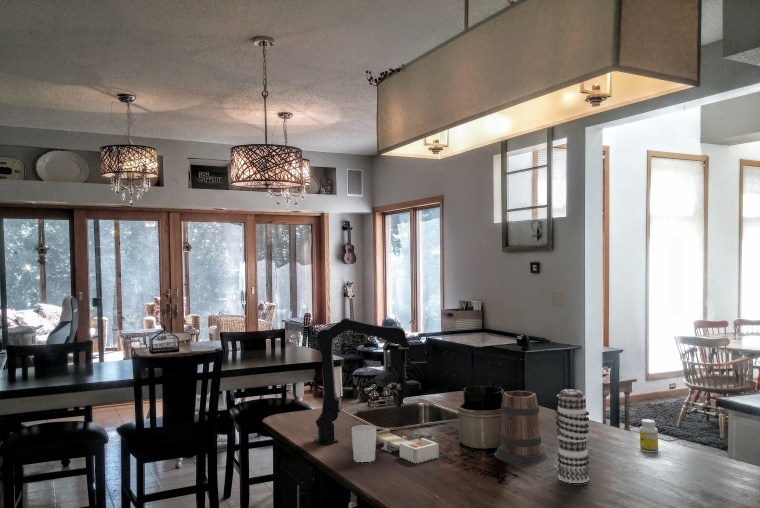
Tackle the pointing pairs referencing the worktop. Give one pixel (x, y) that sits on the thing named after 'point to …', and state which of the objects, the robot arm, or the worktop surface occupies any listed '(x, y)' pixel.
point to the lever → (397, 440)
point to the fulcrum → (389, 447)
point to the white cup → (364, 443)
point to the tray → (420, 451)
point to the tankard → (520, 429)
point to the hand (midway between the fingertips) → (398, 407)
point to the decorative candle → (572, 436)
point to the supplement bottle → (648, 436)
